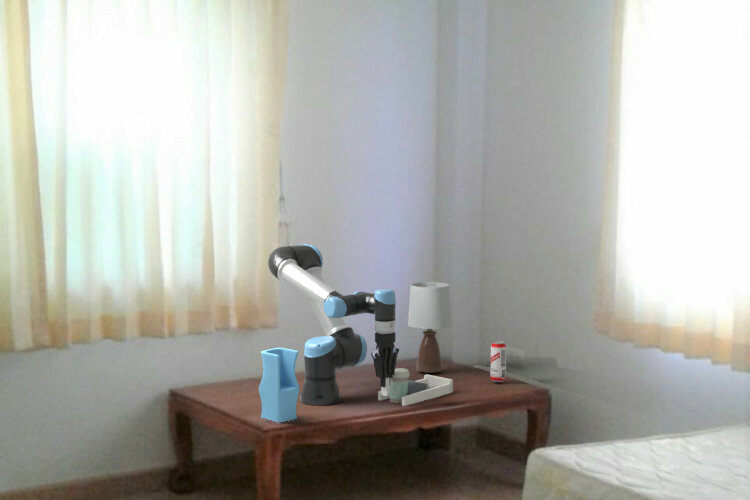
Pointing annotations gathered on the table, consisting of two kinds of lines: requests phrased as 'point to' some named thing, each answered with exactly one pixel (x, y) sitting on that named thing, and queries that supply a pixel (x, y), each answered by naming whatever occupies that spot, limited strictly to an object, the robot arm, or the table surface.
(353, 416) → the table surface
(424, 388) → the block
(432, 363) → the lamp
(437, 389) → the lane
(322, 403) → the robot arm
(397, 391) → the coffee cup
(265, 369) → the vase
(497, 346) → the beer can
